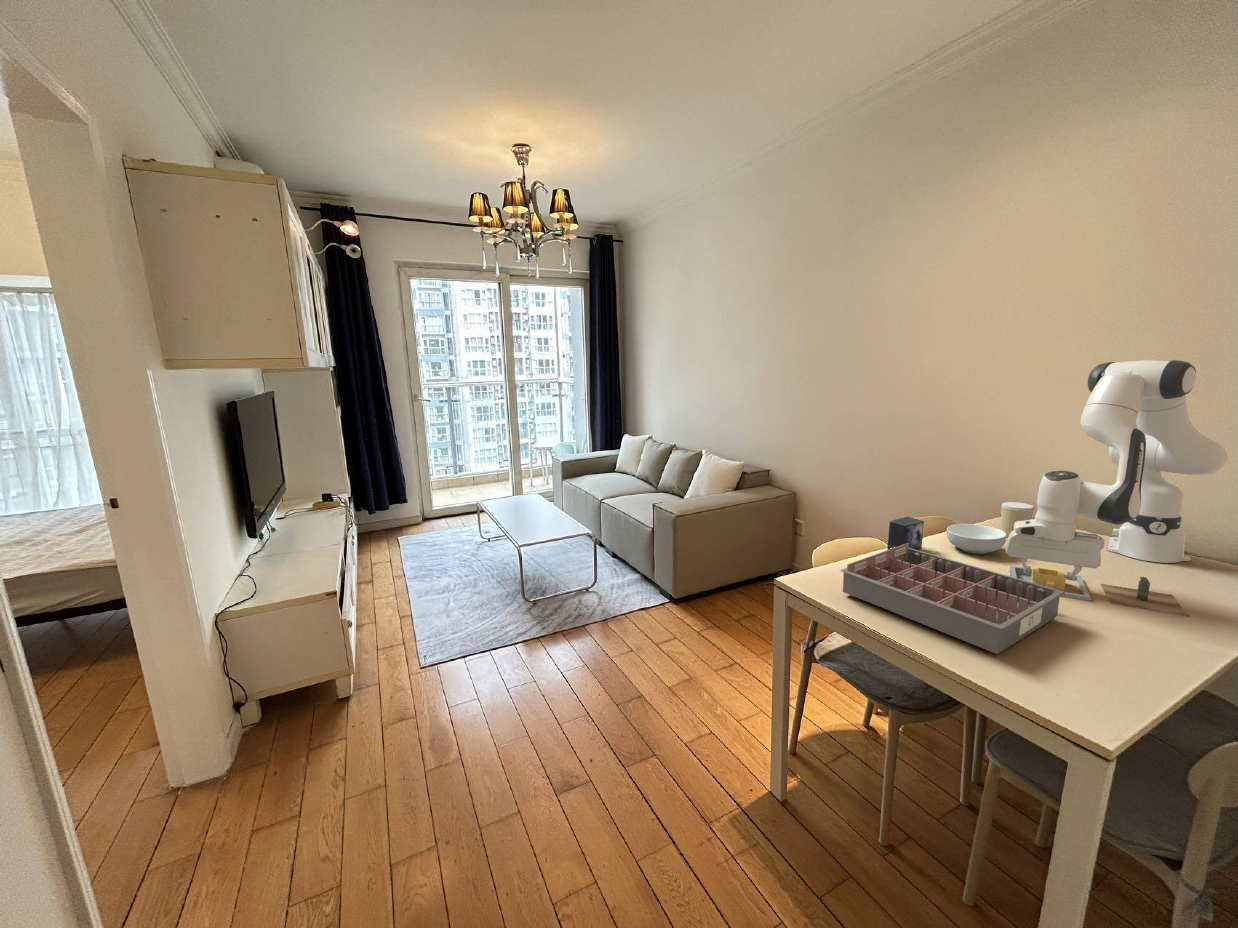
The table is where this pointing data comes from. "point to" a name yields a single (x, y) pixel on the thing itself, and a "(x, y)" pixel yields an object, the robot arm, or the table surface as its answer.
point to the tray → (1019, 574)
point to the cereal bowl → (976, 538)
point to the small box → (905, 533)
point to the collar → (1048, 577)
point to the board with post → (1143, 598)
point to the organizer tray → (952, 596)
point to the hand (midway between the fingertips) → (1048, 576)
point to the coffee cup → (1014, 515)
